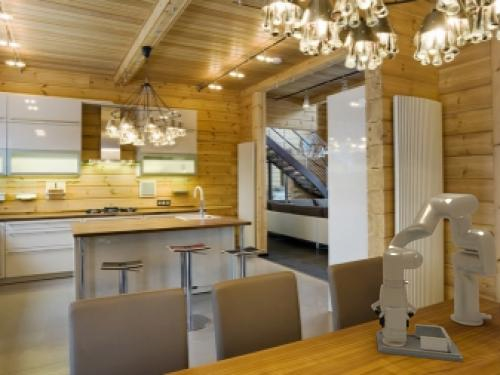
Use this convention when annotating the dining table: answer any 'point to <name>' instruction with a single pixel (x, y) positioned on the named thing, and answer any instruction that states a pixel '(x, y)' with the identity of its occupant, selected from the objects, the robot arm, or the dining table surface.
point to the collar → (433, 338)
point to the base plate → (414, 348)
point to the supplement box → (395, 324)
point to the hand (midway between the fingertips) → (393, 327)
